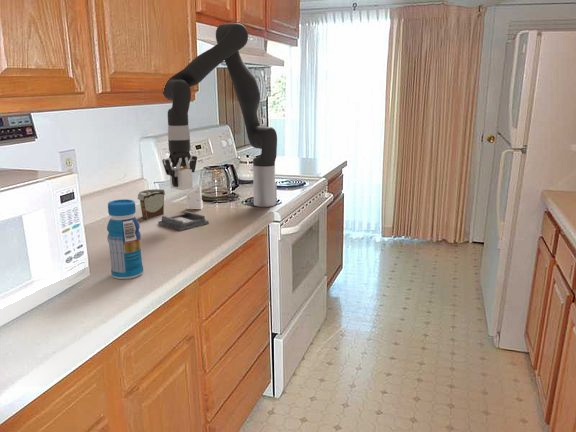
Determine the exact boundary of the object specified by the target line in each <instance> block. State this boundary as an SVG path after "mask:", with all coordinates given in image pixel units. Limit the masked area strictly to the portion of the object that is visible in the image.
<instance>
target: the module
mask: <svg viewBox="0 0 576 432" xmlns="http://www.w3.org/2000/svg"><path fill="white" fill-rule="evenodd" d="M174 172H175V170H174ZM169 177H170V180H169V181H170V188H171V189H175V190H179V191H186V190H191V189H192V190H194V188H193V173H192V169H187V168H182V167H180V169H179V170H178V175H177V177H178V187H174V186H173V185H172V177H171V176H170V175H169Z"/></svg>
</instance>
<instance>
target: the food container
mask: <svg viewBox="0 0 576 432" xmlns="http://www.w3.org/2000/svg"><path fill="white" fill-rule="evenodd" d="M165 195H166V192H165V190H164V189H161V188H160V189H157V188H156V189H154V188H153V189H146V190H141V191H139V192H138V194H137V199H138V201H139V203H140V210H141V216H142V219H143V220H145V221H149V220H152V219H155V218H158V216H159V217H162V216H165ZM161 215H162V216H161Z"/></svg>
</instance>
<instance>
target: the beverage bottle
mask: <svg viewBox="0 0 576 432" xmlns="http://www.w3.org/2000/svg"><path fill="white" fill-rule="evenodd" d="M107 211H108V215H109V216H110V217H111V218H109V220H108V223H107V227H106V230H107V232H108V234H107V243H108V246H109V247H108V248H109V256H110V257H109V258H110V267H111V268H110V269H111V270H110V273H111V276H112V277H113V278H114V279H117V280H118V279H119V280H130V279H135V278H137V277H140V276H141V275H142V274H143V273H144V267H143V266H144V265H143V258H142V245H141V241H142V234H141V232H140V228H141V226H140V222H139V220H138V219H137V217H135V214H136V212H137V211H136V201H135V200H133V199H128V198H127V199H123V198H122V199H116V200H111V201H109V202H108V203H107Z"/></svg>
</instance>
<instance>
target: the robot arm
mask: <svg viewBox="0 0 576 432" xmlns="http://www.w3.org/2000/svg"><path fill="white" fill-rule="evenodd" d="M248 31H249V30H248V29H247V28H246V26H245V25H243V24H242V23H238V22H237V23H236V22H231V23H230V22H229V23H222V24H219V25H218V27H216V30H215V40H216V44H215V45H214V46H212V47H210V48H209V49H207V50H205V51H204V52H202V53H200V54H199V55H198V56H196V57H194V58H193V59H192V60H191V61H190V62H189V63H187V65H186V66H185V67H184V68H183V69H182V70H180V71H178V72H177V73H175V74H174V75H172V76H171V77H169V78H168V79H169V80H168V79H167V80H168V81H167V80H166V81H167V83H166V85H165V88H164V92H163V91H162V94H163V97H164V98H166V99H167V100H168V101H171V102H172V105H171V108H169V109H168V110H167V140H168V142H167V143H168V152H169V155H168V156H169V157H167V158H163V159H162V161H161V162H162V165H163V168H164V171H165V174H166V175H167V176H169V177H170V176H171V177H172V185H173V186H174V187H178V177H177V175H178V170H179V169H180V167H181V168H187V169H192V174H193V173H195V172H196V166H197V160H198V156H196V155H191V153H190V152H191V138H190V137H191V136H190V135H191V134H190V126H189V110H190V104H191V100H192V91H191V87H195V86H197V85H199V84H200V83H201V81H203V80H204V79H205V78H207V76H208V75H209V74H210V73H211V72H213V70H214V69H216V68H217V67H218V66H219V65H221V63H223V62H224V63H225V64H226V68H227V71H228V74H229V77H230V80H231V82H232V85H233V89H234V92H235V95H236V98H237V101H238V104H239V107H240V111H241V114H242V118H243V120H244V121H243V122H244V126H245V129H246V135H247V139H248V142H249V144H250V145H251V147H253V148H254V149H261V153H260V155H258V156H257V157H256V156H255V157H254V158H253V161H252V171H253V172H252V175H253V176H252V178H253V179H252V180H253V184H252V185H253V206H255V207H260V208H261V207H262V208H267V207H274V206H275V205H277V203H278V202H277V199H278V198H277V196H278V194H277V189H278V188H277V186H278V185H277V181H276V159H277V154H278V153H277V151H278V148H277V147H278V136H277V134H278V133H277V131H276V130H275V128H274V127H272V126H261V125H260V121H259V118H258V110H259V109H258V108H259V106H260V101H261V93H260V89H259V86H258V82H257V79H256V77H255V75H254V74H253V73H252V71H251V70H250V68H249V67H248V66H247V65H246V63H245V62H244V61H243V58H242V57H241V54H240V50H241V49H243V48H244V47H245V46H246V44H247V43H248V41H249V33H248ZM174 170H175V172H174Z"/></svg>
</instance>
